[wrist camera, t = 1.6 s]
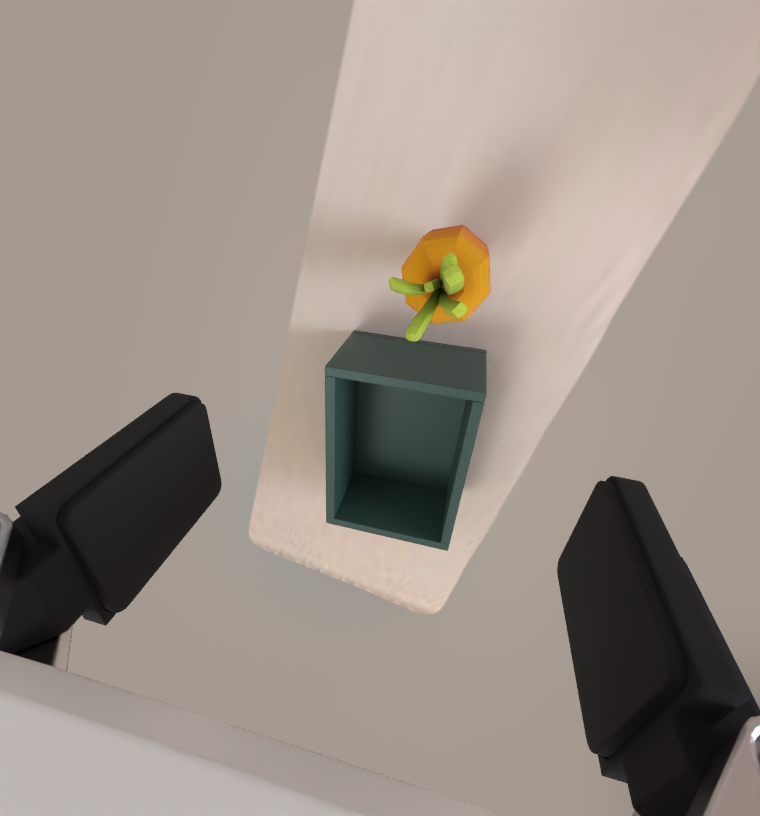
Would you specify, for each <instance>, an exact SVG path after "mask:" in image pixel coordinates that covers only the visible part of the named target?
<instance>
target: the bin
mask: <svg viewBox="0 0 760 816" xmlns="http://www.w3.org/2000/svg"><path fill="white" fill-rule="evenodd" d="M325 375H326V376H325V415H326V522H327V523H330V524H334V525H339V526H343V527H347V528H352V529H356V530H360V531H364V532H369V533H373V534H377V535H382V536H386V537H390V538H395V539H399V540H403V541H408V542H412V543H416V544H421V545H425V546H429V547H433V548H438V549H442V550H446V551H448V548H449V544H450V540H451V536H452V532H453V527H454V523H455V519H456V515H457V511H458V507H459V503H460V499H461V495H462V491H463V487H464V483H465V479H466V475H467V471H468V467H469V463H470V459H471V454H472V450H473V446H474V442H475V438H476V434H477V430H478V426H479V422H480V418H481V414H482V410H483V406H484V402H485V398H486V350H480V349H473V348H466V347H460V346H453V345H446V344H440V343H433V342H426V341H420V340H419V341H409V340H407V339H406V338H400V337H393V336H387V335H380V334H373V333H367V332H360V331H353V333H352V334H351V335H350V336H349V338H348V339H347V340H346V341H345V343H344V344H343V345H342V346H341V347H340V349H339V350H338V351H337V352H336V354H335V355H334V356H333V357H332V359H331V360H330V361H329V362H328V364H327V365H326V366H325Z"/></svg>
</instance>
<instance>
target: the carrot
mask: <svg viewBox="0 0 760 816" xmlns="http://www.w3.org/2000/svg"><path fill="white" fill-rule="evenodd" d="M401 269H402V276H403V280H401V279H398V278H393V277H392V278H390V280H389V286H390V288H391V290H392V291H395V292H397V293H401V294H405V298H406V303H407V304H408V305H409V306H410V307H412V308H413V309H414V310H415V311H417V312H418V314H417V315H416V317H415V318H414V319H413V321H412V322H411V324H410V326H409V327H408V329H407V331H406V333H405V336H406V338H407V340H409V341H419V339H420V338H421V337H422V335H423V333H424V331H425V330H426V328H427V326H428V324H429V322H430V323H432V324H433V323H444V322H455V321H465V320H466V319H467V318H468V317H469V316H470V315H471V314H472V313H473V311H474V310H475V309H476V308H477V307H478V306H479V305H480V304H481V303H482V301H483V300H484V299H485V298H486V297H487V296H488V295H489V294H490V268H489V252H488V248H487V245H486V244H485V243H484V242H483V241H481V240H480V239H479V238H478V237H477V236H476V235H474V234H473V233H472V232H471V231H470V230H469V229H467V228H466V227H465V226H464V225H460V226H454V227H448V228H441V229H435V230H432V231H430V232H428V233H427V234H426V235H425V236H423V238H422V239H421V241H420V242H419V243H418V245H417V246H416V248H415V249H414V250H413V252H412V253H411V255H410V256H409V257H408V259H407V260H406V262H405V263H404V264H403V266H402V268H401Z"/></svg>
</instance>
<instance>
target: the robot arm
mask: <svg viewBox="0 0 760 816" xmlns="http://www.w3.org/2000/svg"><path fill="white" fill-rule="evenodd" d="M220 489H221V478H220V473H219V468H218V463H217V458H216V453H215V448H214V443H213V439H212V434H211V429H210V424H209V419H208V415H207V410H206V407H205V405H204V404H202V403H201V400H200V399H199V398H198V397H196V396H191V395H185V394H180V393H172V394H170V395H168V396H167V397H165V398H164V399H163V400H161V401H160V402H159V403H157V404H156V405H154V406H153V407H152V408H150V409H149V410H148V411H146V412H145V413H143V414H142V415H141V416H139V417H138V418H136V419H135V420H134V421H132V422H131V423H130V424H128V425H127V426H126V427H124V428H123V429H121V430H120V431H119V432H117V433H116V434H115V435H113V436H112V437H110V438H109V439H108V440H106V441H105V442H103V443H102V444H101V445H99V446H98V447H97V448H95V449H94V450H93V451H91V452H90V453H88V454H87V455H85V456H84V457H83V458H81V459H80V460H79V461H77V462H76V463H75V464H73V465H72V466H70V467H69V468H68V469H67V470H65V471H63V472H62V473H61V474H59V475H58V476H57V477H56V478H54V479H52V480H51V481H50V482H49V483H47V484H46V485H44V486H43V487H41V488H40V489H39V490H37V491H36V492H35V493H34V494H32V495H30V496H29V497H28V498H26V499H25V500H23V501H22V502H21V503H20V504H18V505H17V506H16V507H15V508H16V509H17V511H18V513H19V514H20V517H19V518H18V519H16V520H15V521H14V522H12V521H11V519H10V518H9V517H8V515H6V514H3V513H1V512H0V816H505V815H502V814H499V813H496V812H493V811H490V810H487V809H484V808H481V807H478V806H475V805H472V804H469V803H466V802H463V801H460V800H457V799H454V798H451V797H448V796H445V795H442V794H439V793H436V792H433V791H430V790H427V789H424V788H421V787H418V786H415V785H412V784H409V783H406V782H403V781H400V780H397V779H394V778H391V777H388V776H385V775H382V774H379V773H376V772H373V771H370V770H367V769H364V768H361V767H358V766H355V765H352V764H349V763H346V762H343V761H340V760H337V759H334V758H331V757H328V756H325V755H322V754H319V753H316V752H313V751H310V750H307V749H304V748H301V747H298V746H295V745H292V744H289V743H285V742H283V741H280V740H276V739H274V738H271V737H267V736H265V735H261V734H258V733H255V732H252V731H249V730H246V729H243V728H240V727H237V726H234V725H231V724H228V723H225V722H221V721H219V720H216V719H213V718H210V717H207V716H204V715H200V714H198V713H194V712H191V711H188V710H185V709H182V708H179V707H176V706H173V705H170V704H167V703H164V702H161V701H158V700H155V699H151V698H148V697H145V696H142V695H139V694H136V693H133V692H130V691H127V690H124V689H120V688H117V687H114V686H111V685H108V684H105V683H102V682H98V681H96V680H93V679H90V678H86V677H83V676H80V675H77V674H74V673H71V672H68V671H67V668H68V660H69V652H70V644H71V637H72V629H73V624H74V623H75V622H76V620H78V618H79V617H80V616H81V615H82V616H83V617H84V619H86V620H90V621H93V622H96V623H99V624H103V625H107V624H108V623H109V621H110V620H111V619H112V618H113V617H114V615H115V614H116V613H117V612H121V611H123V610H124V609H126V607H127V606H128V605H129V604H130V603H131V602H132V601H133V599H134V598H135V597H136V595H137V594H138V593H139V592H140V591H141V589H142V588H143V587H144V586H145V584H146V583H147V582H148V581H149V579H150V578H151V577H152V576H153V575H154V573H155V572H156V571H157V570H158V569H159V567H160V566H161V565H162V564H163V562H164V561H165V560H166V559H167V557H168V556H169V555H170V554H171V552H172V551H173V550H174V549H175V547H176V546H177V545H178V544H179V543H180V541H181V540H182V539H183V537H184V536H185V535H186V534H187V533H188V532H189V530H190V529H191V528H192V527H193V525H194V524H195V523H196V522H197V520H198V519H199V518H200V517H201V516H202V514H203V513H204V512H205V510H206V509H207V508H208V507H209V506H210V504H211V503H212V502H213V501H214V499H215V498H216V497H217V496H218V494H219V492H220ZM557 573H558V580H559V585H560V591H561V597H562V603H563V608H564V614H565V620H566V625H567V631H568V637H569V643H570V648H571V654H572V660H573V665H574V671H575V677H576V682H577V688H578V693H579V700H580V705H581V711H582V717H583V722H584V728H585V734H586V739H587V743H588V746H589V748H590V750H591V752H593V753H594V754H598V758H599V763H600V768H601V773H602V776H605V777H609V778H612V779H615V780H618V781H622V782H625V783H628V787H629V792H630V796H631V801H632V805H633V808H634V809H635V812H634V813H633V815H632V816H760V709H759V707H758V705H757V703H756V701H755V699H754V697H753V695H752V693H751V691H750V689H749V687H748V685H747V683H746V681H745V679H744V677H743V675H742V673H741V671H740V669H739V667H738V665H737V663H736V661H735V659H734V658H733V656H732V653H731V651H730V650H729V647H728V646H727V643H726V641H725V640H724V637H723V635H722V633H721V631H720V630H719V628H718V626H717V624H716V622H715V620H714V618H713V616H712V614H711V612H710V610H709V608H708V606H707V604H706V602H705V600H704V598H703V596H702V594H701V592H700V590H699V588H698V586H697V584H696V582H695V580H694V578H693V576H692V574H691V572H690V570H689V568H688V566H687V564H686V563H685V561H684V560H683V558H682V557H680V555H679V553H678V551H677V549H676V547H675V545H674V543H673V541H672V539H671V537H670V535H669V533H668V531H667V529H666V527H665V525H664V523H663V521H662V519H661V517H660V515H659V513H658V510H657V508H656V507H655V505H654V502H653V501H652V499H651V496H650V494H649V493H648V490H647V488H646V486H645V485H644V484H643V483H642V482H640V481H635V480H631V479H626V478H620V477H615V476H611V477H609V478H608V479H607V480H606V482H605V481H599V482H598V483H597V484H596V486H595V488H594V490H593V492H592V494H591V496H590V498H589V500H588V502H587V504H586V506H585V508H584V510H583V512H582V514H581V516H580V518H579V520H578V522H577V524H576V526H575V528H574V530H573V532H572V534H571V536H570V538H569V540H568V542H567V544H566V546H565V548H564V550H563V552H562V554H561V556H560V558H559V561H558V569H557Z"/></svg>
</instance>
